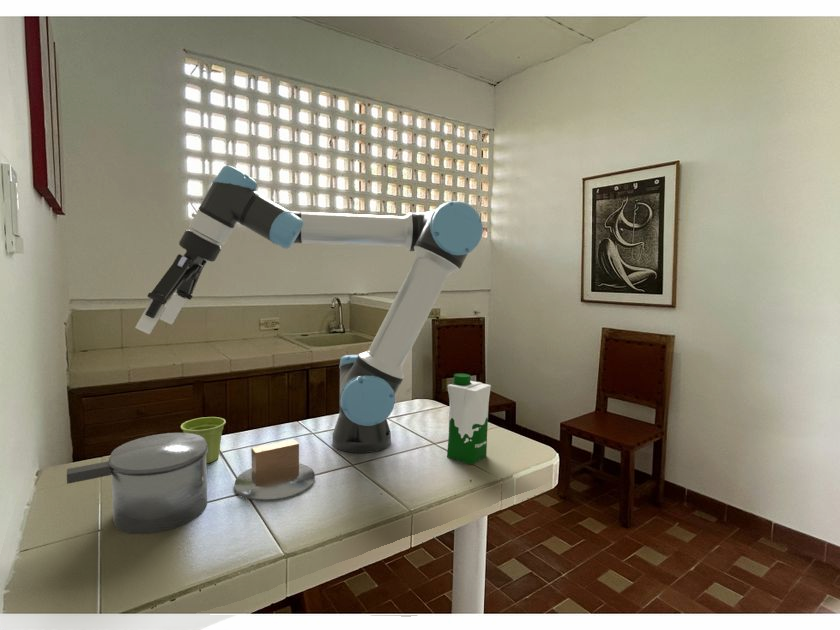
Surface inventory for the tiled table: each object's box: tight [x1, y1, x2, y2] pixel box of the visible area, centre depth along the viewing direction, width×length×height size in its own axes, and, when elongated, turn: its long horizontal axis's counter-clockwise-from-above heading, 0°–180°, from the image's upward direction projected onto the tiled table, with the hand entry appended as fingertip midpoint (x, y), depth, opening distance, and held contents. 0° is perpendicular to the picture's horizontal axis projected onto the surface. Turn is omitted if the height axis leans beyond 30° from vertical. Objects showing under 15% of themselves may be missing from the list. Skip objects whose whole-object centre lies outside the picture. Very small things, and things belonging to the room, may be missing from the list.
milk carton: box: [446, 372, 492, 466], centre depth 111 cm, size 9×9×20 cm
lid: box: [234, 439, 316, 502], centre depth 97 cm, size 16×16×8 cm
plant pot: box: [180, 416, 227, 464], centre depth 107 cm, size 9×9×9 cm
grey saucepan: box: [66, 432, 208, 535], centre depth 82 cm, size 21×16×12 cm
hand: (154, 326), depth 96 cm, fingers open, 13 cm apart
